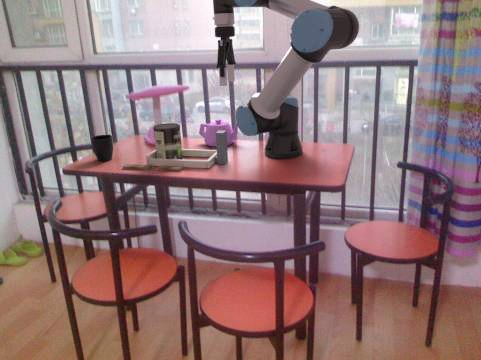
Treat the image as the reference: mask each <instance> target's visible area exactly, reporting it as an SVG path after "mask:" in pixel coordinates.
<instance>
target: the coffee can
mask: <svg viewBox="0 0 481 360" xmlns="http://www.w3.org/2000/svg"><path fill="white" fill-rule="evenodd" d="M152 130H153V135H154V144H155V145H154V147H155V150H156V154H157V159H181V160H184V156H182V149H183V148H182V147H183V146H182V136H181V135H182V134H181V125H180V124H179V123H174V122H173V123H172V122H171V123H170V122H169V123H160V124H156V125H154V126H152Z"/></svg>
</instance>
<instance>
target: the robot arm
mask: <svg viewBox="0 0 481 360" xmlns="http://www.w3.org/2000/svg"><path fill="white" fill-rule="evenodd" d="M212 5H213V7H212V8H213V17H212V20H213V21H214V25H215V27H214V37H216V38H220V39H218V40H217V60H216V63H217V64H216V69H218V76H219V87H228V82H235V65H236V64H237V62H236V59H235V53H234V47H233V46H234V45H233V37H235V36H236V27H235V26H234V25H235V24H236V23H235V10H234V9H235V8H267V9H269V10H271V11H273V12H276V13H278V14H281V15H282V16H285V17H288V18H289V19H293V22H292V25H291V27H290V31H291V32H290V34H289V36H290V40H289V44H290V45H289V46H290V48H289V49H288V50H287V52H286V53H285V56H284V57H283V58H282V60H280V63H279V64H278V65H277V67H276V69H275V71H273V73H272V75H271V76H270V78H269V79H268V80H267V82H266V84H265V85H264V87H263V88H262V89H261V91H260V92H257V93H255V94H253V95H252V97H251V98H250V99H249V101H248V103H246V104H241V105H239V106H238V107H237V108H236V111H235V120H236V122H237V125H238V129H239V131H240V132H241V133H242V135H244V136H246V137H252V136H253V137H256V136H257V135H263V134H265V133H266V134H267V133H268V136H267V140H266V142H265V146H264V155H265V156H266V157H269V158H273V159H278V160H279V159H280V160H281V159H283V160H284V159H294V158H297V157H300V156H302V155H303V145H302V143H301V140H300V135H299V110H300V109H299V108H300V107H299V100H298V98H297V97H296V96H291V93H292V92H293V91H294V89H295V87H297V85H298V84H299V83H300V82H301V80H302V79H303V77H304V76H305V75H306V74H307V72H308V71H309V69H310V68H311V67H312V66H313V64H314V65H316V64H320V63H321V62H322V61H323V59H324V58H325V57H326V55H327V54H328V53H329V52H330V51H331V50H333V51H334V50H341V49H344V48H347V47H349V46H350V45H352V43H354V41H356V38H357V37H358V35H359V32H360V22H359V19H358V17H357V15H356V14H355V13H354V12H353V11H352V10H350V9H346V8H342V7H339V6H336V5H331V6H328V5H324V4H321V3H319V2H316V1H314V0H212ZM236 122H235V123H236Z"/></svg>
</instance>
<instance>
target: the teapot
mask: <svg viewBox="0 0 481 360" xmlns="http://www.w3.org/2000/svg"><path fill="white" fill-rule="evenodd" d="M205 128H206V129H205ZM238 129H239V128H238V125H237V122H235V123H234V125H233V127H232V126H231V124H230V122H228V121H224V120H223V121H222V119H221V118H217V119H215V120H214V121H211V122H210V123H205V122H201V123H200V126H199V131H198V132H199V133H198V134H199V136H201V137H203V139H204V144H206V146H208V147H213V148H214V147H216V132H217V131H219V130H224V131H226V133H227V147H228V146H230V145H231V144H233V143H234V141H235V138H236V137H237V136H238V132H239V131H238Z"/></svg>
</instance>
